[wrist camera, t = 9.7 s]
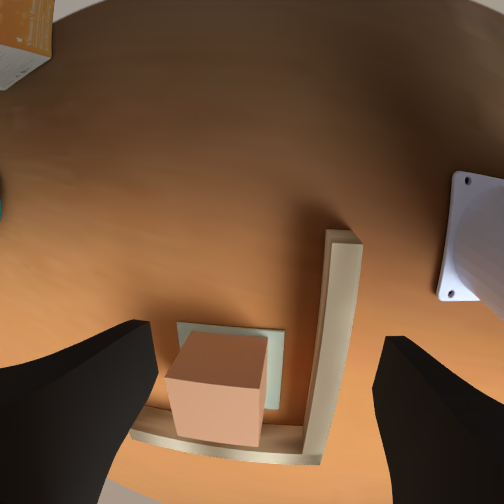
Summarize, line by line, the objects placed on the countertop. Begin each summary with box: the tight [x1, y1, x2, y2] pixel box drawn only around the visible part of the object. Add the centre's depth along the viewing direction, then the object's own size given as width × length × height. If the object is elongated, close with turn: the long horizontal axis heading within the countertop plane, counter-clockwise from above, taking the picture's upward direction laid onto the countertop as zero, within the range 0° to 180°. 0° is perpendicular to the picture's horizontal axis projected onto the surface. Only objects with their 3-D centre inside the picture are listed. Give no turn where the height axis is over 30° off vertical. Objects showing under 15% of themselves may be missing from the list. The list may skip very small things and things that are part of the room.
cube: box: [164, 331, 268, 447], centre depth 18 cm, size 5×5×5 cm
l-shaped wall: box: [129, 229, 363, 465], centre depth 19 cm, size 15×17×3 cm
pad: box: [177, 322, 285, 410], centre depth 20 cm, size 7×7×1 cm
